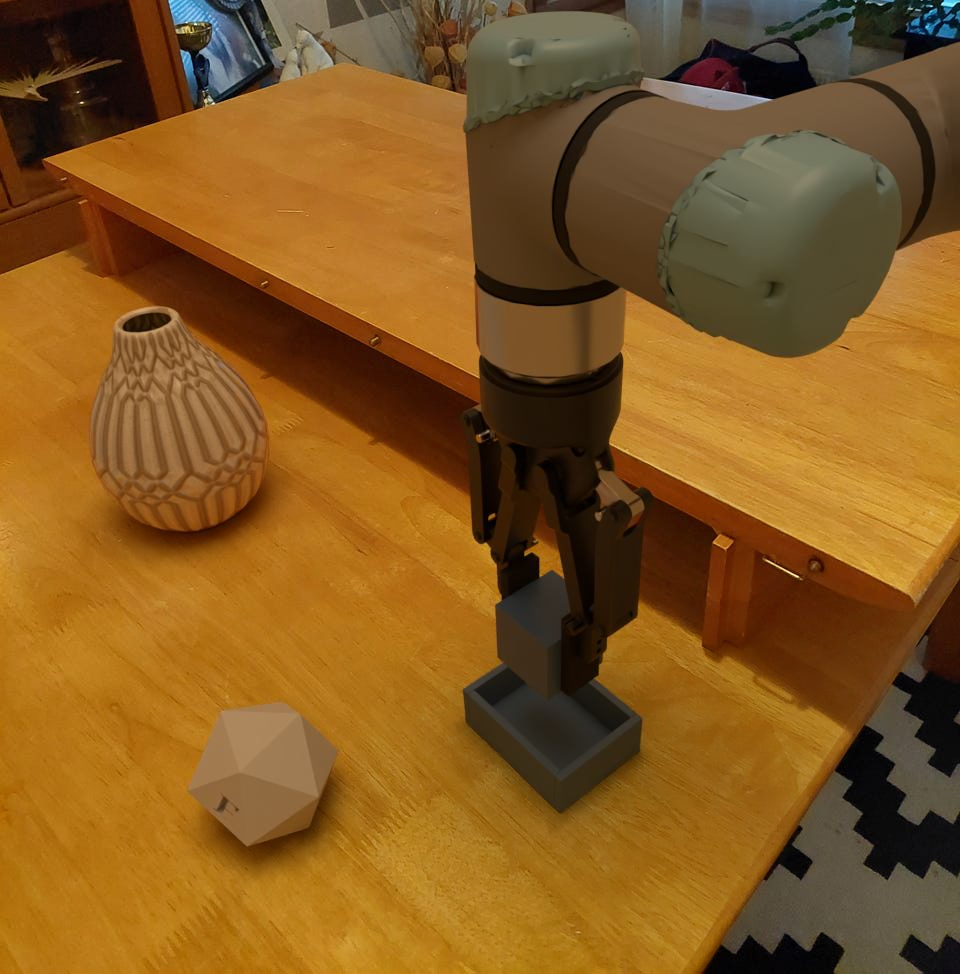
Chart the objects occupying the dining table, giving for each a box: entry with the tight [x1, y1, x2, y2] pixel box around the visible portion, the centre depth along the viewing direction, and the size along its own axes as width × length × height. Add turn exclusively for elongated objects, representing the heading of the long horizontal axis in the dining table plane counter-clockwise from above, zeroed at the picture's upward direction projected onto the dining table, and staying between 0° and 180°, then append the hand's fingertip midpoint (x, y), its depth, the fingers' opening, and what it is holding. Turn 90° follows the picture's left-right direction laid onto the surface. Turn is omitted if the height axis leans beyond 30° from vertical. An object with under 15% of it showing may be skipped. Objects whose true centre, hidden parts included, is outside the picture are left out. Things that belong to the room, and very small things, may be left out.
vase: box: [88, 305, 270, 533], centre depth 85 cm, size 16×16×20 cm
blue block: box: [494, 569, 604, 701], centre depth 60 cm, size 5×5×5 cm
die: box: [186, 701, 340, 847], centre depth 61 cm, size 8×9×10 cm
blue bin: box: [462, 662, 644, 814], centre depth 66 cm, size 10×8×4 cm
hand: (549, 657), depth 62 cm, fingers closed on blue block, 5 cm apart
